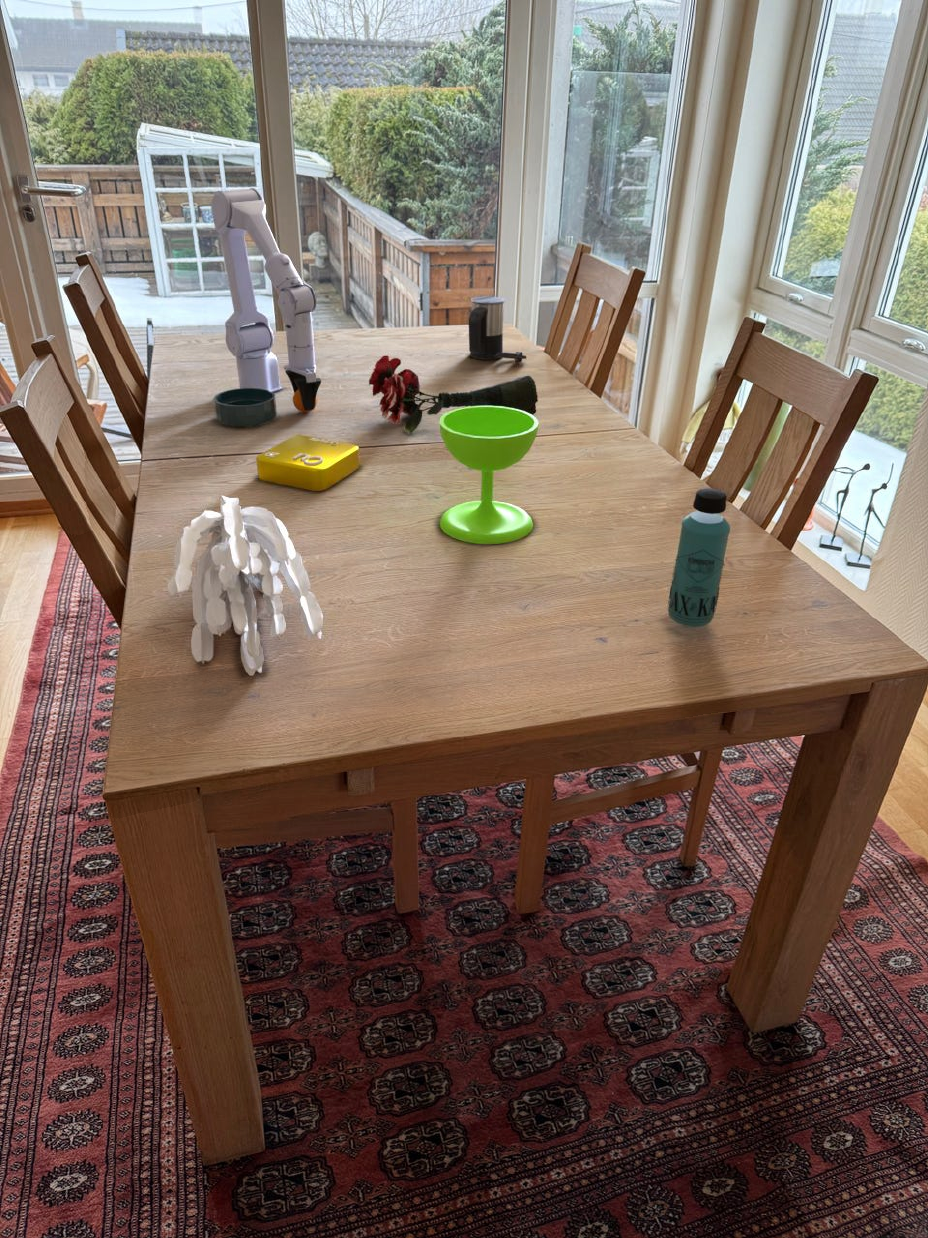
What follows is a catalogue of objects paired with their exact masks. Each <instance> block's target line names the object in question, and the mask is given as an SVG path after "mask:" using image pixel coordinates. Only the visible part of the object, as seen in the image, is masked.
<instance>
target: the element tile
mask: <svg viewBox="0 0 928 1238" xmlns="http://www.w3.org/2000/svg"><path fill="white" fill-rule="evenodd" d="M359 450H360V449H359V446H358V445H357V444H353V443H348V442H342V441H337V440H333V439H326V438H320V437H315V436H309V435H304V434H296V435H294V436H291V437H289V438H287V439H285V440H284V441H282V442H280V443H278V444H276V445H275V446H273V447H271V448H268V449H267V450H265V451H263V452H262V453H260V454H258V455H257V456H256V457H255V461H256V470H257V477H258V479H259V480H261V481H263V482H268V483H271V484H276V485H277V484H278V485H282V486H286V487H290V488H291V487H292V488H295V489H296V488H297V489H301V490H306V491H312V492H323V491H326V490H328V489H329V488H331V487H333V486H334V485H336V484H337V483H339V482H340V481H342V480H343V479H345V478H346V477H348V476H350V475H351V474H352V473H354V472H356V471H357V470H358V469H359V468H360V451H359Z"/></svg>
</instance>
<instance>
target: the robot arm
mask: <svg viewBox="0 0 928 1238" xmlns="http://www.w3.org/2000/svg"><path fill="white" fill-rule="evenodd" d="M210 208H211V214H212V219H213V225H214V229H215V232H216V233H218V234H219V239H220V244H221V250H222V255H223V260H224V261H223V262H224V265H225V270H226V276H227V281H228V286H229V292H230V297H231V303H232V307H233V313H232V314H231V315H230V316H229V318H228V319H227V320H226V321H225V322H224V326H225V344H226V347H227V349H228V351H229V352H230V354H232V356H234V357H235V360H236V361H235V362H236V367H237V370H236V371H237V378H238V387H239V388H260V389H265V390H269V391H271V392H273V393H276V392H278V391H280V390H283V389H284V387H283V386H282V385H281V381H280V369H279V361H278V359H277V356H276V355H275V354H274V353H273V352H272V351H271V349H272V348H273V346H274V341H275V337H274V333H273V330H272V328H271V326H270V322H269V318H268V316H267V315H265V314H264V313H262V312H261V311H260V310H258V307H257V302H256V296H255V290H254V284H253V277H252V272H251V268H250V261H249V256H248V250H247V244H246V240H245V239H246V238H245V236H246V235H247V234H248V235H249V236H250V238H251V240H252V241H253V243H254V244H255V246H256V247H257V249H258V251H259V252H260V254H261V256H262V257H263V258H264V260H265V263H264V265H263V267H264V268H263V269H264V271H265V273H266V275H267V276H268V278H269V280H270V282H271V284H272V286H273V288H274V290H275V291H276V293H277V295H278V297H277V300H276V302H277V303H276V304H277V307H278V309H279V311H280V314H281V319H282V323H283V324H284V326H285V336H286V347H287V359H288V364H284V365H283V369H284V370H285V374H286V376H287V377H288V379H289V381H290V384H291V387H292V390H293V394H294V393H295V392H296V391H297V390H298V389H299V392H300V395H301V399H302V404H303V407H304V410H305V411H308V410H312V411H314V410H315V408H316V407H315V401H316V396H317V395H318V391H319V388H320V386H321V384H322V379H321V378H320V377H317V374H316V373H317V372H316V371H317V363H316V356H315V355H316V354H315V344H314V343H315V342H314V340H315V339H314V330H313V329H314V327H313V315H312V313H313V312H314V311H315V310H316V308H317V296H316V293H315V291H314V288H313V287H312V286H311V285H310V284H308V283H307V282H306V281H305V280H304V279H303V280H302V279H301V277H300V275H299V273H298V272H297V270H296V268H295V266H294V265H293V262H292V260H291V259H290V257H289V255H287V254H285V253H283V252H281V251H280V249H279V246H278V244H277V242H276V239H275V237H274V235H273V233H272V231H271V227H270V225H269V224H268V221H267V219H266V216H267V215H266V214H267V205H266V202H265V200H264V197H263V195H262V194H261V192H260V191H259V190H258V188H255V187H251V188H247V189H236V190H235V189H234V190H224V191H223V190H217V191H215V192H214V194H213V196H212V199H211V201H210ZM314 407H315V408H314Z"/></svg>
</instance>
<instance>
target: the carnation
mask: <svg viewBox="0 0 928 1238" xmlns="http://www.w3.org/2000/svg"><path fill="white" fill-rule="evenodd" d="M401 364H402V361H401V359H400V358H398V357H393V358H391V359H390V356H389V355H382V356H381V357H380V358H379V359H378V360H377V361H376V363H375V365H374V368H373V371H372V373H371V375H370V377H369V379H368V385H369V386H371V385H372V396H373V397H375V396H376V395H379V394H382V395H383V396H382V397H381V399H380V401H379V404H378V405H379V406H380V410H379V411H380V413H381V418H382V419H384V420H387V421H389V423H391V424H396V423H397V424H401V414H402V413H403V414H406V415H407V416H408V417H407V418H406V421H405V423H404V430H405V432H406V433H407V434H409V435H412V434H413V432H414V431H415V430H417V428H418V427H419V425H420V423H421V421H422V419H423V412H425V411H427V412H426V414H427V415H430V416H431V415H432V416H433V415H437V414H439V413H441V411H442V409H449V408H450V407H451V408H463V407H471V406H502V407H509V408H515V409H518V410H522V411H525V412H527V413H530V414H532V415H533V416H534V415H535V414H536V413H537V406H536V403H538V402H539V398H538V391H537V384H536V381H535V379H534V378H533V377H532V376H531V375H526V376H525V375H524V376H521V377H516V378H515V379H511V380H508V381H505V382H500V383H497V384H495V385H490V386H485V387H482V388H479V389H475V390H470V391H461V392H459V391H458V392H457V391H456V392H451V393H449V392H439V393H438V395H432V394H428V393H424V392H422V391H421V389H420V388H421V387H420V380H419V376H418V375H417V374H416V373H415V372H414V371H412V370H411V369H408V368H404V369H403V370H401V371H400V372H398V373H395V372H396V370H397V368H398V367H399V366H401ZM421 396H426V397H430V398H421ZM430 400H431V401H430ZM436 400H437V401H436ZM417 402H419V403H417ZM425 403H429V404H433V405H432V406H430V407H428V408H424V409H421V407H422V405H423V404H425ZM389 413H390V415H389Z"/></svg>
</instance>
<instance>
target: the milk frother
mask: <svg viewBox="0 0 928 1238" xmlns="http://www.w3.org/2000/svg"><path fill="white" fill-rule="evenodd" d="M470 301H471V311H470V314H469V317H468V350H469V351H468V352H470V353H469V356H470V357H471V358H474V359H478V360H487V361H488V360H498V359H513V360H514V362H515V363H522V362H523V360H526V359H527V355H524V354H523V352H522V351H516V352H515V353H514V352H504V315H505V314H504V313H505V311H504V310H505V302H506V299H505V298H503V297H499V296H491V295H483V296H480V295H479V296H475V297H471V298H470Z"/></svg>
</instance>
